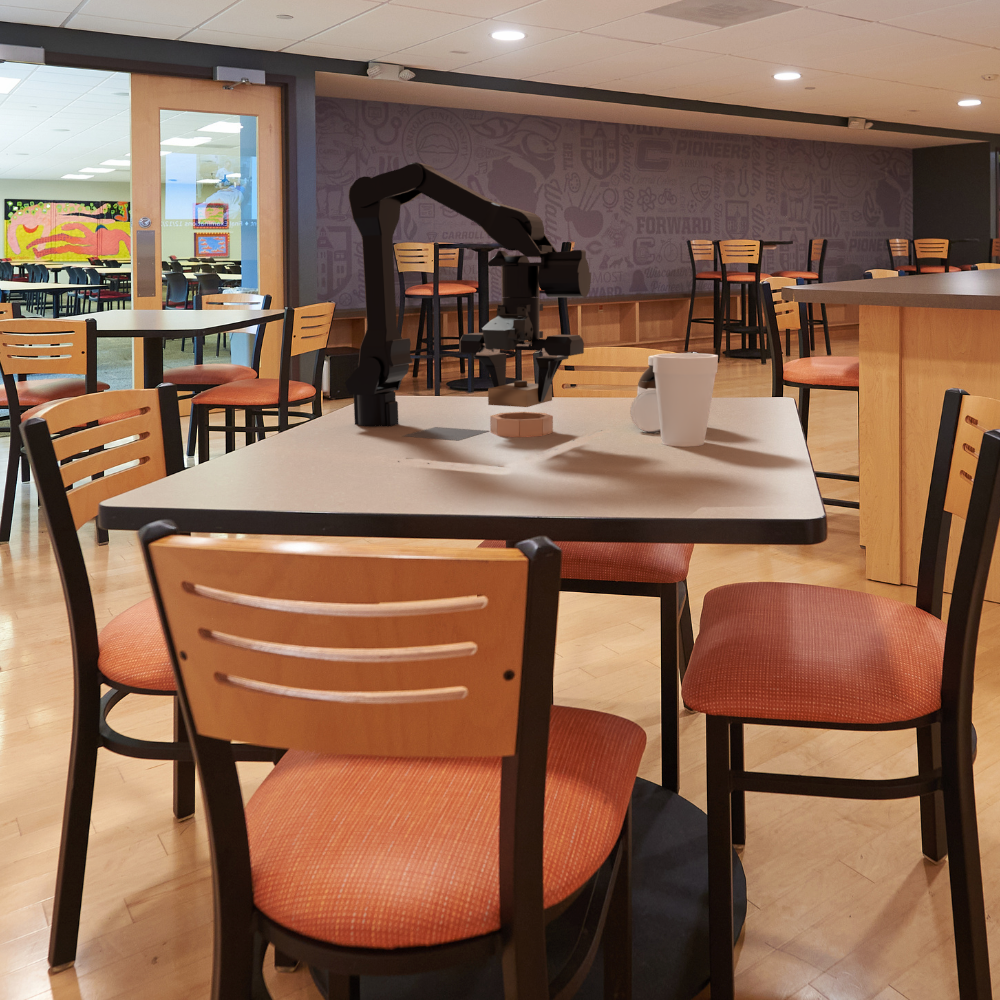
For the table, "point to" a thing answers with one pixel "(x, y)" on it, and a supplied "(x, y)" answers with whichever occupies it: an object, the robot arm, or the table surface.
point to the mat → (446, 433)
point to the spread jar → (646, 402)
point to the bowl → (521, 424)
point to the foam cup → (684, 396)
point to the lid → (517, 394)
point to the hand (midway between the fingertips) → (520, 400)
